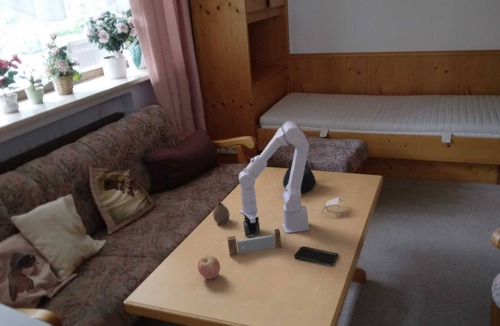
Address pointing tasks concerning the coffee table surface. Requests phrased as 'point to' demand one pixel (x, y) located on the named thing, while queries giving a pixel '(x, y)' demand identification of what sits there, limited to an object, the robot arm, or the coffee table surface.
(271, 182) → the coffee table surface
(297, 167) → the robot arm
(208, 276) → the apple
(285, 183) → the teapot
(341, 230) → the coffee table surface
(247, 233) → the block
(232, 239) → the door frame
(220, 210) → the vase
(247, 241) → the door
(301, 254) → the phone
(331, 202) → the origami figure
